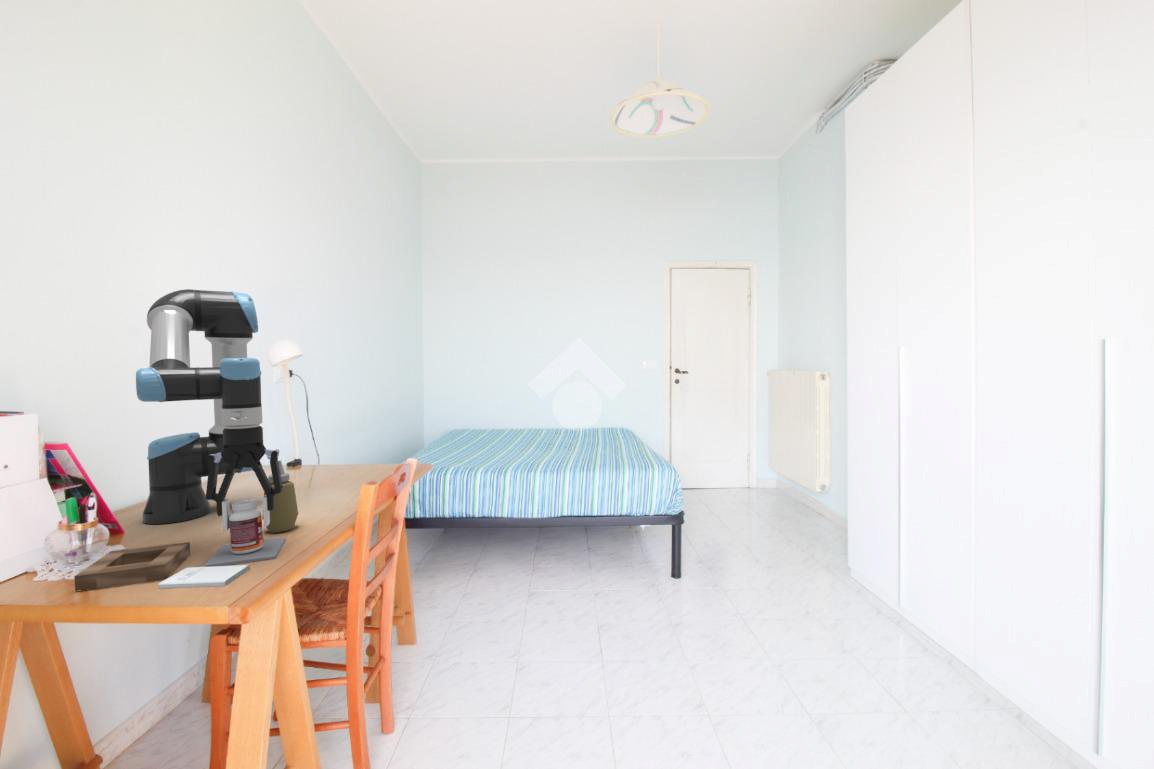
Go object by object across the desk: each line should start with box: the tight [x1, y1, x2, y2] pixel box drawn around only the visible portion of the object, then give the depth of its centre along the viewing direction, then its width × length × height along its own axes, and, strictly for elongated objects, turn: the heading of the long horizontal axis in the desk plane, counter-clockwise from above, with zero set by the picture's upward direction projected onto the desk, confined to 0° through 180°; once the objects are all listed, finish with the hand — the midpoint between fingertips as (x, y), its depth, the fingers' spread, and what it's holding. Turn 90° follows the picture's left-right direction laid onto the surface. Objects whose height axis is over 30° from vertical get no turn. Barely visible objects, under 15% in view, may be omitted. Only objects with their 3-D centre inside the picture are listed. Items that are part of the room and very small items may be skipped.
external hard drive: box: [157, 564, 251, 589], centre depth 100 cm, size 2×8×12 cm
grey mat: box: [203, 536, 287, 567], centre depth 114 cm, size 13×13×1 cm
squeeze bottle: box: [261, 460, 299, 533], centre depth 130 cm, size 8×8×18 cm
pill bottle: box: [229, 498, 264, 554], centre depth 114 cm, size 6×6×11 cm
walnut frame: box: [73, 541, 191, 592], centre depth 104 cm, size 14×14×3 cm
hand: (247, 526), depth 114 cm, fingers open, 7 cm apart
